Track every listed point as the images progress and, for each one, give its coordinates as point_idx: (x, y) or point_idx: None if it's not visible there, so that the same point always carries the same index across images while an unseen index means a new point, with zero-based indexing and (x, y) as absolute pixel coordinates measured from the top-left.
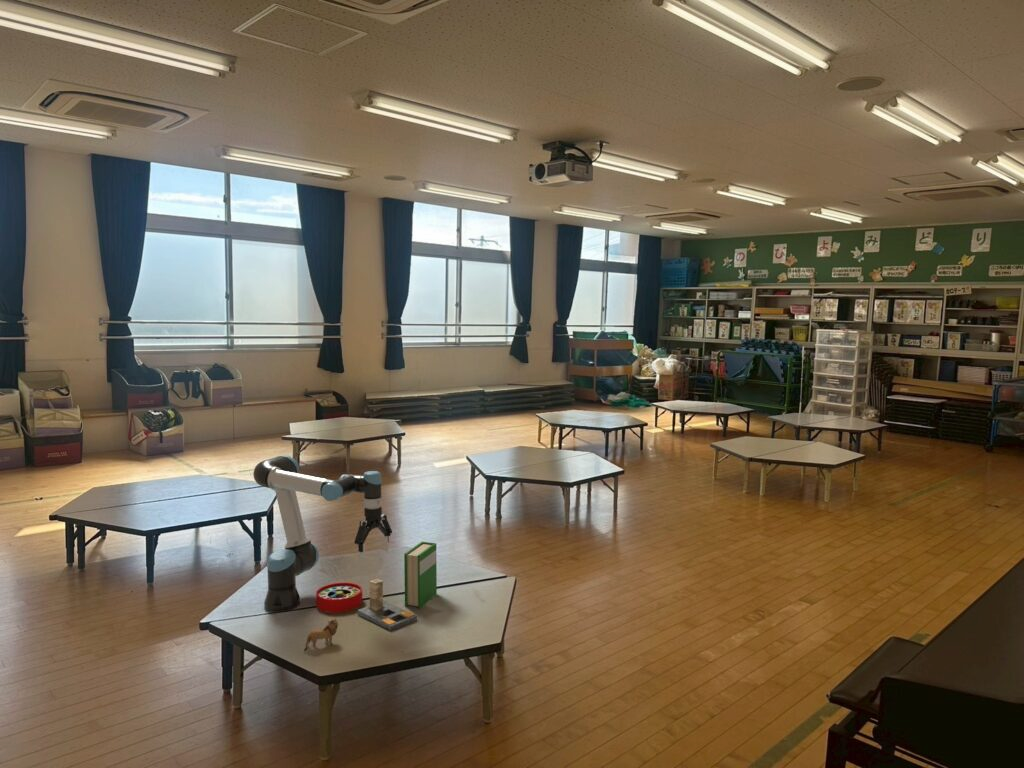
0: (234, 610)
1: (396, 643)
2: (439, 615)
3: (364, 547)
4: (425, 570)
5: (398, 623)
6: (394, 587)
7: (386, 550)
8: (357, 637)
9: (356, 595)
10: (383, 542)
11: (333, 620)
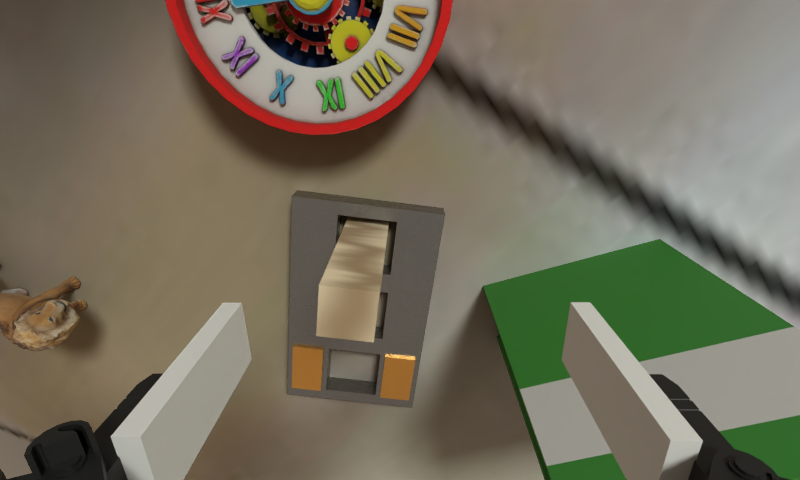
0: None
1: (250, 442)
2: (488, 423)
3: (178, 468)
4: None
5: (324, 396)
6: (650, 86)
7: (563, 358)
8: (180, 333)
9: (334, 133)
10: (607, 379)
11: (26, 347)
